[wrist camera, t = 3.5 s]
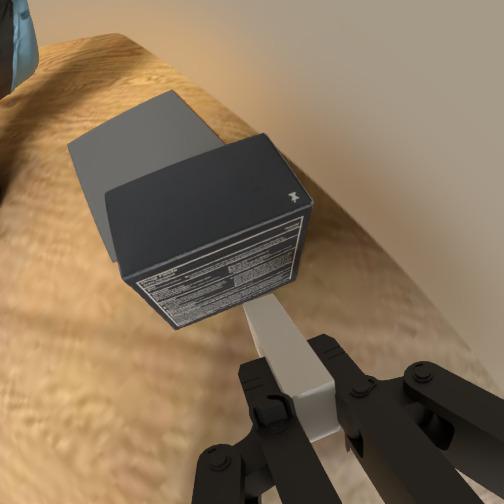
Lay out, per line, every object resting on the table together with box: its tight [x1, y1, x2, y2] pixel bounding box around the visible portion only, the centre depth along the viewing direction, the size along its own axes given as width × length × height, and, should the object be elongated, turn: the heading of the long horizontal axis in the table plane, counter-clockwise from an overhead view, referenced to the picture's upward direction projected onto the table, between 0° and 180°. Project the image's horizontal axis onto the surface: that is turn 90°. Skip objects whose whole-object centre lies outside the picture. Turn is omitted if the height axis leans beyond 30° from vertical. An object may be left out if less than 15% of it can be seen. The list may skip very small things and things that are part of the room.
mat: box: [67, 90, 225, 263], centre depth 31 cm, size 19×15×1 cm
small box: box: [104, 133, 314, 330], centre depth 21 cm, size 11×6×10 cm, turn 114°
